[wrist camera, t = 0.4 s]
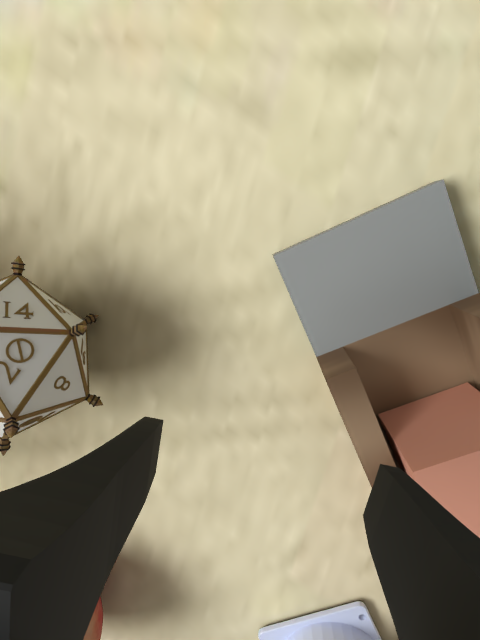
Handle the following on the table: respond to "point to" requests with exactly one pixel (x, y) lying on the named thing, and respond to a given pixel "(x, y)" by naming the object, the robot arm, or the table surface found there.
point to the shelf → (378, 269)
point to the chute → (401, 372)
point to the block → (441, 448)
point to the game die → (38, 356)
